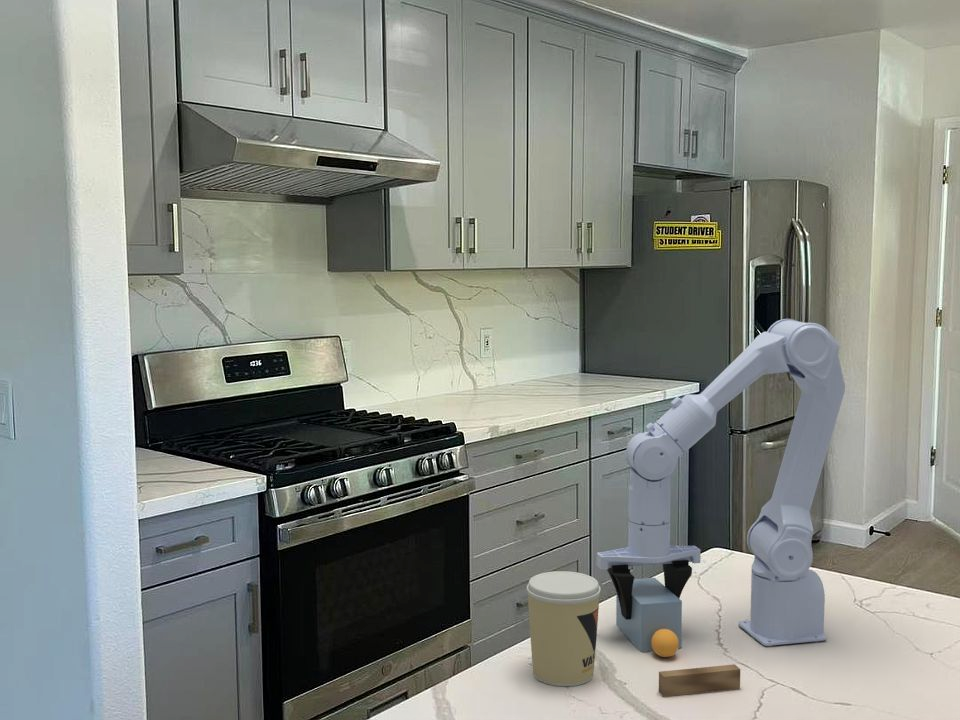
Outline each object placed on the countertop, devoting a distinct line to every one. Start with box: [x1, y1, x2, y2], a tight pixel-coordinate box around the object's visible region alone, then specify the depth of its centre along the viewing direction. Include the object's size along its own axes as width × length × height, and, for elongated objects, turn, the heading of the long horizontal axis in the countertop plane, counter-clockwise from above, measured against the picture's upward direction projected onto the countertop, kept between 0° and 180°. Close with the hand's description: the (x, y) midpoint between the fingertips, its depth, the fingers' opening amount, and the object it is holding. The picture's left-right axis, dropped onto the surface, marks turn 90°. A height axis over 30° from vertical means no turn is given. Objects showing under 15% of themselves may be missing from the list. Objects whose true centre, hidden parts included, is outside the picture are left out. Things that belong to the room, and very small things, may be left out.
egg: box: [651, 629, 679, 658], centre depth 126 cm, size 4×4×4 cm
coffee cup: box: [526, 570, 602, 687], centre depth 121 cm, size 9×9×12 cm
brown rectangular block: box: [658, 663, 741, 698], centre depth 116 cm, size 10×2×2 cm, turn 102°
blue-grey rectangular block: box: [615, 577, 683, 653], centre depth 133 cm, size 6×10×7 cm, turn 11°
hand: (648, 615), depth 132 cm, fingers closed on blue-grey rectangular block, 6 cm apart
